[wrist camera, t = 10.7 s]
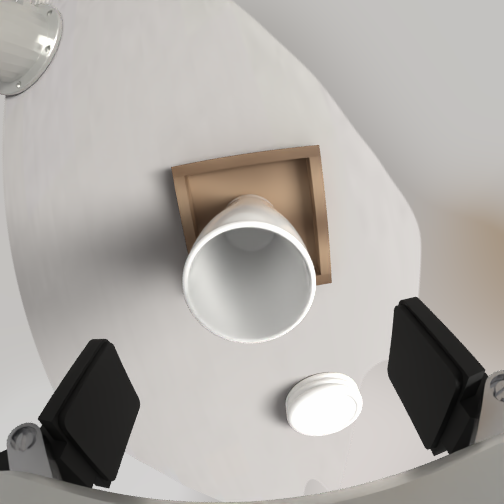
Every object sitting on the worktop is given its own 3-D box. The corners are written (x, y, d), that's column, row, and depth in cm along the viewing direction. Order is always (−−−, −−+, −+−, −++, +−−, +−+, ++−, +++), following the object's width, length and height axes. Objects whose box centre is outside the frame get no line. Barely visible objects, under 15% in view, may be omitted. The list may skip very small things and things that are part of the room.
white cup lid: (308, 428, 39) (311, 445, 36) (270, 394, 37) (271, 413, 34) (367, 397, 38) (374, 414, 34) (336, 357, 35) (343, 375, 32)
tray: (177, 165, 28) (171, 167, 26) (313, 145, 27) (319, 145, 25) (202, 290, 32) (199, 301, 30) (326, 273, 31) (331, 282, 29)
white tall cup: (201, 208, 29) (153, 264, 14) (263, 172, 28) (277, 192, 13) (237, 267, 30) (226, 363, 16) (298, 234, 29) (339, 309, 15)
